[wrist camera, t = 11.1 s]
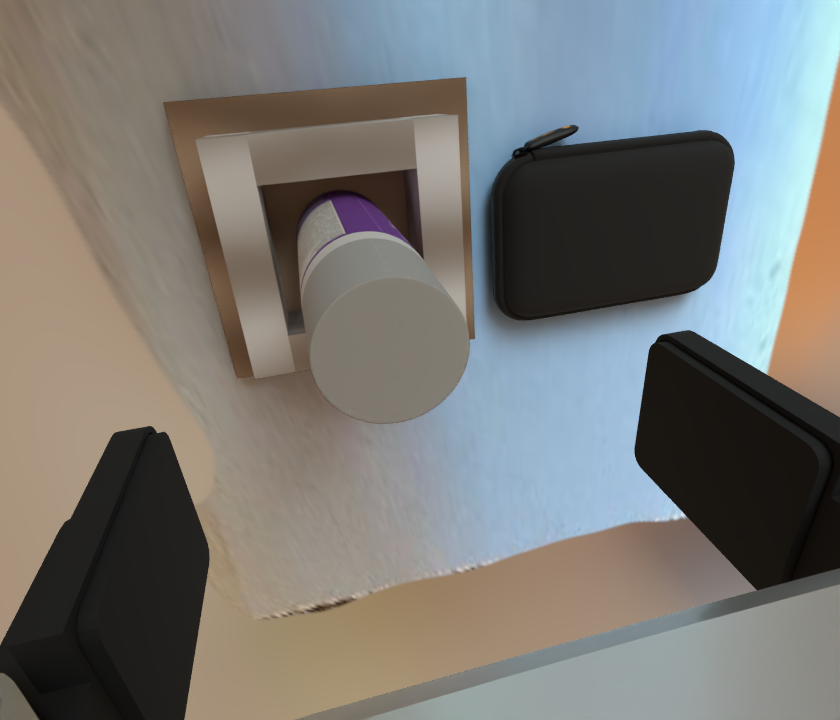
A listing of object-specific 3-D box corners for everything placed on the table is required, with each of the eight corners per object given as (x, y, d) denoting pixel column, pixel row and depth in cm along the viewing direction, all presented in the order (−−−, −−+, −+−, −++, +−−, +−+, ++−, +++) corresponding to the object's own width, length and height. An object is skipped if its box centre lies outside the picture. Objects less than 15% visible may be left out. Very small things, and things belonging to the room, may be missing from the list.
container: (404, 225, 28) (507, 333, 15) (352, 295, 29) (406, 452, 16) (331, 168, 26) (375, 234, 13) (278, 245, 27) (269, 378, 14)
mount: (168, 102, 24) (143, 101, 20) (458, 78, 27) (490, 73, 23) (238, 369, 31) (230, 410, 27) (468, 331, 33) (494, 363, 29)
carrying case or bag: (721, 106, 31) (481, 132, 28) (762, 106, 28) (501, 135, 26) (694, 281, 36) (486, 315, 33) (727, 295, 33) (504, 334, 31)
